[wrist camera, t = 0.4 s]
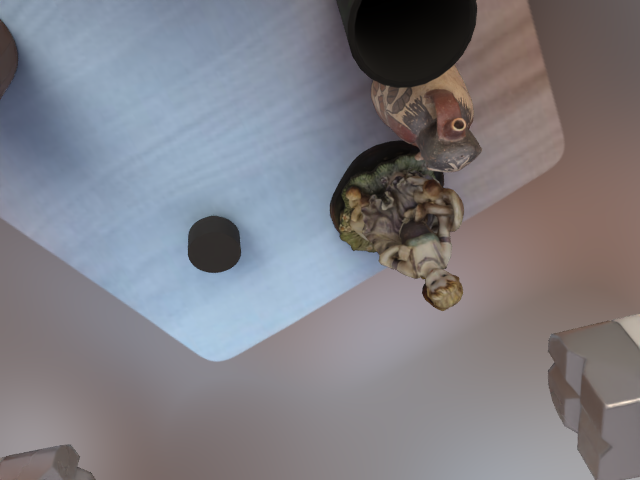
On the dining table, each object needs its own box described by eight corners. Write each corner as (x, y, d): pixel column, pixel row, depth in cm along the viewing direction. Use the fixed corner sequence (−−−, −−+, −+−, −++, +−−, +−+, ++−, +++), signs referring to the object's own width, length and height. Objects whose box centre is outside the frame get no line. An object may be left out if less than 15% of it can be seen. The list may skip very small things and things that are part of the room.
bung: (179, 215, 54) (178, 244, 51) (225, 197, 53) (227, 225, 50) (202, 250, 57) (202, 279, 53) (246, 233, 56) (249, 262, 53)
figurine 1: (368, 127, 51) (406, 205, 42) (371, 46, 47) (413, 114, 37) (447, 119, 52) (501, 194, 43) (457, 39, 48) (520, 104, 38)
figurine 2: (404, 119, 51) (464, 220, 40) (465, 192, 57) (532, 298, 46) (302, 199, 55) (329, 313, 43) (369, 260, 61) (409, 375, 49)
